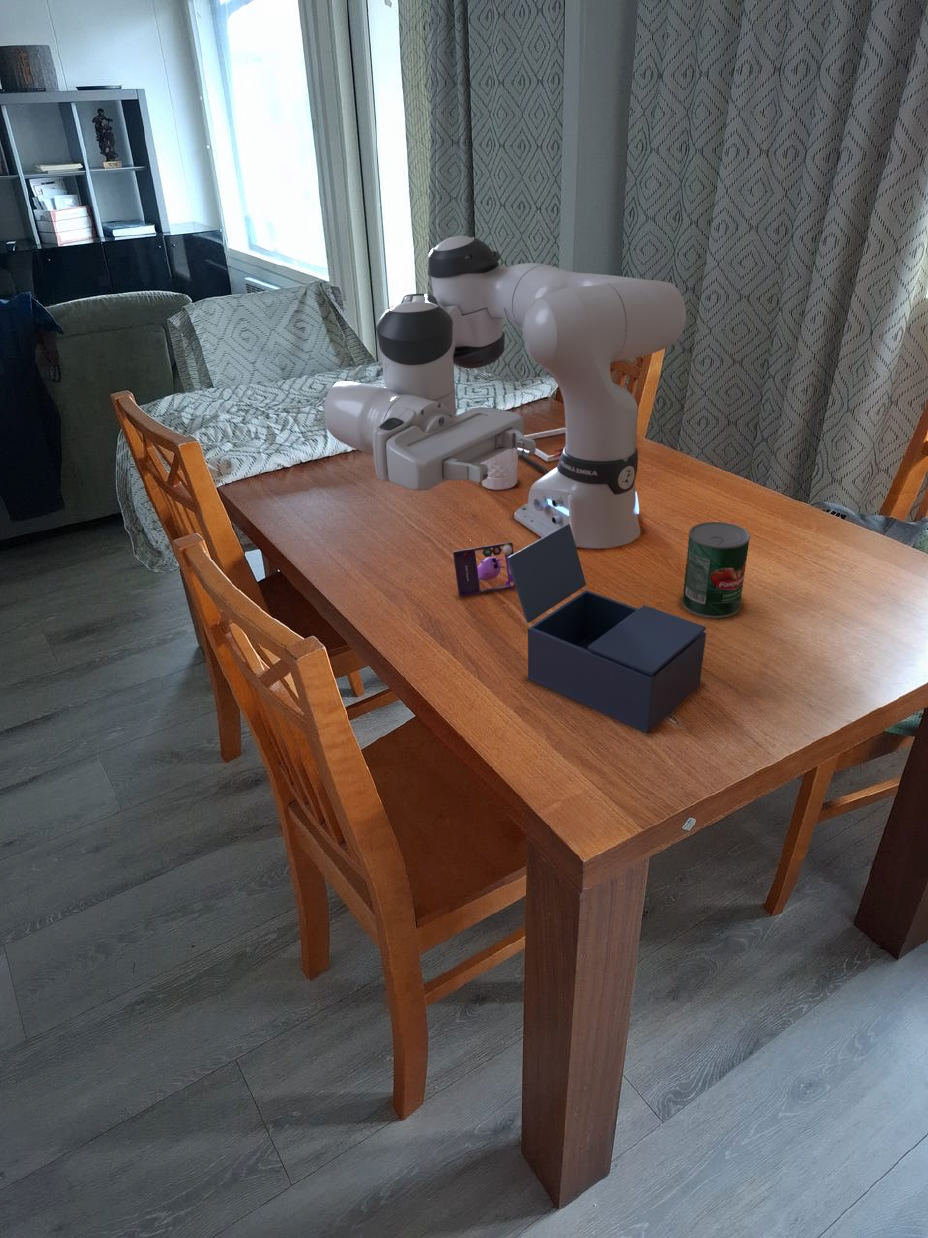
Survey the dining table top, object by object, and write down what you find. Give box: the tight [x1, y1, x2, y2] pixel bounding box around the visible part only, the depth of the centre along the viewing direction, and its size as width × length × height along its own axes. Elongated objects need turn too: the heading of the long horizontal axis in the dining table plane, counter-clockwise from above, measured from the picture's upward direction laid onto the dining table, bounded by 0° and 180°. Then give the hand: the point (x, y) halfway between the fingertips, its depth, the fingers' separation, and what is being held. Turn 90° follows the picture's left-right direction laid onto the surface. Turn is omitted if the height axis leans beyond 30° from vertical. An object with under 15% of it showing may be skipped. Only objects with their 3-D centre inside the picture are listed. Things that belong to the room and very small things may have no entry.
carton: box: [527, 589, 707, 734], centre depth 99 cm, size 17×12×8 cm
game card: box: [452, 542, 516, 598], centre depth 123 cm, size 7×5×9 cm
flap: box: [507, 524, 587, 624], centre depth 101 cm, size 8×12×1 cm
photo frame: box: [524, 427, 566, 462], centre depth 176 cm, size 15×1×18 cm
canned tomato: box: [681, 521, 751, 619], centre depth 113 cm, size 8×8×11 cm
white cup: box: [481, 448, 519, 491], centre depth 156 cm, size 8×8×10 cm
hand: (509, 461), depth 97 cm, fingers open, 8 cm apart
